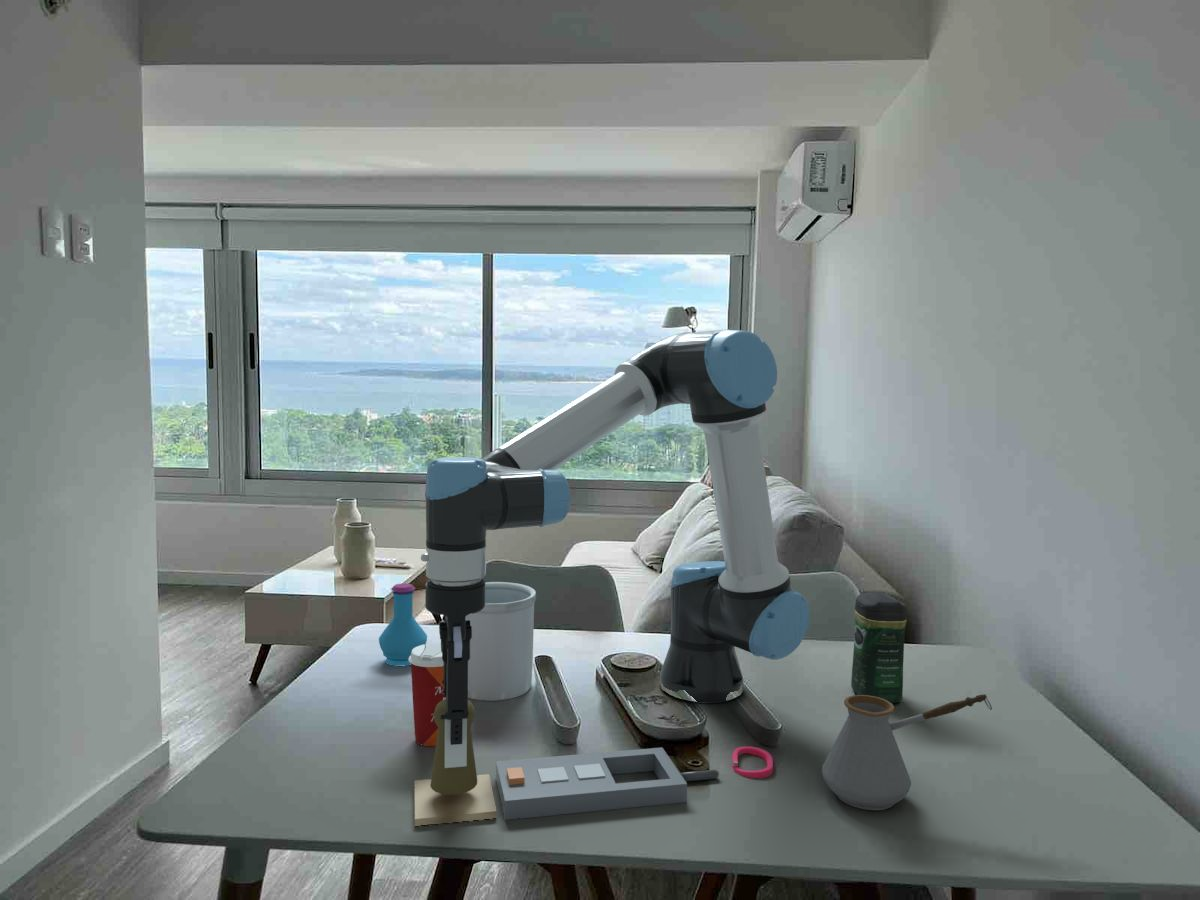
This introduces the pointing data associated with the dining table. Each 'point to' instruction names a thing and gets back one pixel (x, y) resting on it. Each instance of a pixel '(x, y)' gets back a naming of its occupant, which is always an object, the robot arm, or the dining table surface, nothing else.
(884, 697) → the coffee jar
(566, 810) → the power strip
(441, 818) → the oak board
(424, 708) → the paper cup
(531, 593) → the utensil holder
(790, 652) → the robot arm
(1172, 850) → the dining table surface
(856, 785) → the coffee pot
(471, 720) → the olive knobbed peg
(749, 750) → the fitness band
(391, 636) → the perfume bottle
